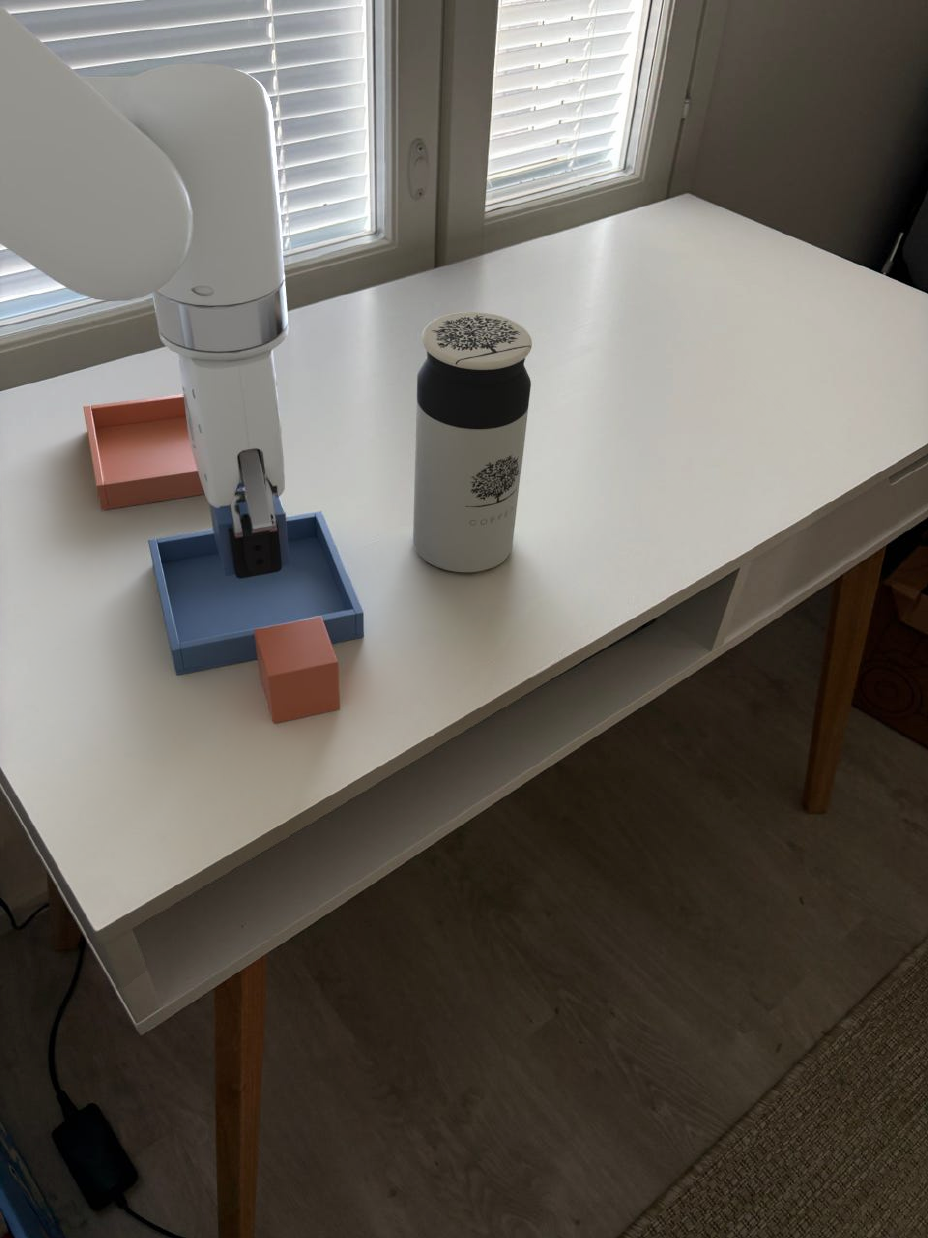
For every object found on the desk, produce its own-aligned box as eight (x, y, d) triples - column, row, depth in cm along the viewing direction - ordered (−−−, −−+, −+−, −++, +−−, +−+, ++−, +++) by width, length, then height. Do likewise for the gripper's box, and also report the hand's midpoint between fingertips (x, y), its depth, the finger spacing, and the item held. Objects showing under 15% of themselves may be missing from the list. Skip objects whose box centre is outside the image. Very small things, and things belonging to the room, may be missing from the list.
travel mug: (400, 521, 82) (403, 315, 70) (491, 506, 84) (510, 303, 72) (430, 583, 77) (439, 372, 65) (527, 565, 79) (554, 357, 67)
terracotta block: (273, 724, 66) (268, 676, 63) (259, 676, 69) (253, 628, 66) (340, 709, 67) (338, 662, 64) (324, 662, 70) (321, 615, 67)
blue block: (225, 576, 69) (217, 525, 66) (214, 537, 72) (206, 485, 69) (290, 564, 71) (285, 513, 67) (276, 526, 74) (271, 475, 70)
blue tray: (176, 676, 69) (171, 650, 67) (152, 564, 77) (147, 539, 75) (364, 637, 72) (363, 612, 71) (322, 534, 80) (321, 510, 79)
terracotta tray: (101, 510, 81) (96, 486, 80) (88, 429, 89) (83, 406, 88) (265, 484, 85) (263, 461, 83) (238, 409, 93) (235, 386, 91)
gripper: (138, 252, 63) (179, 489, 76) (177, 389, 52) (218, 640, 65) (257, 241, 65) (278, 473, 78) (320, 370, 54) (332, 617, 67)
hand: (250, 547), depth 71 cm, fingers closed on blue block, 4 cm apart
